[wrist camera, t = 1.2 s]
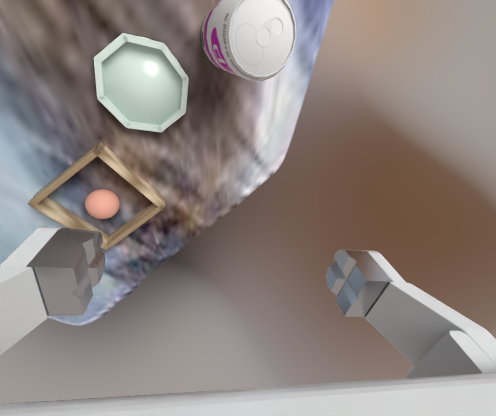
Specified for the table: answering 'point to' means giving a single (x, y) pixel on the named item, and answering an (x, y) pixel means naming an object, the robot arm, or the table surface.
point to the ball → (102, 204)
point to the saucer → (141, 83)
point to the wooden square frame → (76, 222)
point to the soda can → (249, 37)
